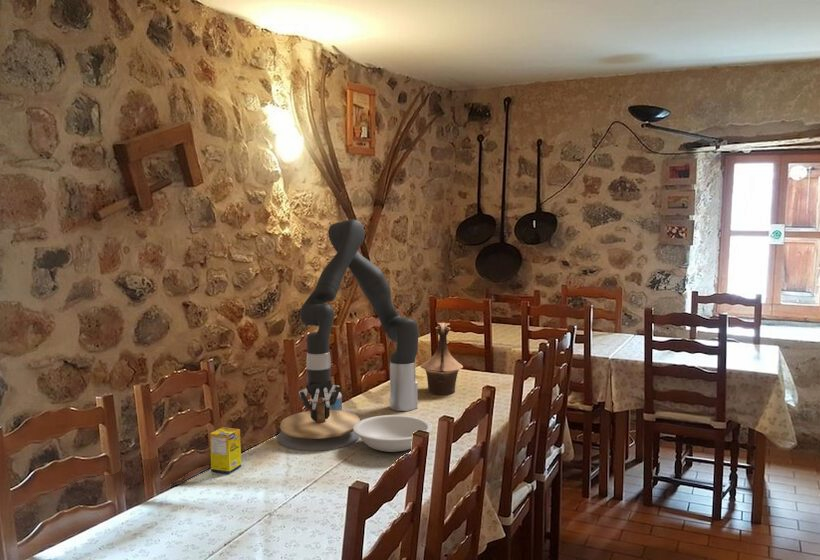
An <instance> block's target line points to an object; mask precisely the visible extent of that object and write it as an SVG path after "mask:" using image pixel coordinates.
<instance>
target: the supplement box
mask: <svg viewBox="0 0 820 560" xmlns="http://www.w3.org/2000/svg"><path fill="white" fill-rule="evenodd" d="M209 444H210V445H209V446H210V447H209V449H210V470H211V471H210V472H212V471H213V473H221V474H227V475H230V474H231V473H234V472H235V471H237V470H238V469H240V468H242V452H241V450H242V448H241V428H240V429H239V428H232V427H231V428H230V427H226V426H225V427H224V426H223V427H220V428H217V429H216V430H214V431H212V432H210V433H209Z"/></svg>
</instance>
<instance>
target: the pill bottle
mask: <svg viewBox="0 0 820 560" xmlns="http://www.w3.org/2000/svg"><path fill="white" fill-rule="evenodd" d="M336 385H337V384H336ZM337 386H339V387H340V385H337ZM340 388H341V387H340ZM331 394H332V388H331V390H330V392H329V393H328V397H329V399H330V397H331ZM342 400H343V395H342V393H341V392H340V391H339V394H338V397H337V399H336V402H335V404H334V405H331V406H330V410H340V411H343V401H342Z"/></svg>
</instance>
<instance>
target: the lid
mask: <svg viewBox="0 0 820 560" xmlns="http://www.w3.org/2000/svg"><path fill="white" fill-rule="evenodd" d="M316 410H317V421H314V420H313V419H311V412H310V410H307V411H301V412H297V413H294V414H291V415H289V416H287V417H285V418H283V419H282V420H281V421H280V425H279V426H280V428H279V429H280V432H281V431H282V432H283V433H285V434H286V435H289V436H292V437H297V438H306V439H321V438H331V437H337V436H341V435H345V434H348V433H350V432H352V431H353V426H354V425H355V424H356V423H357V422H359V421H361V419H360V417H359V416H358V415H357V414H355V413H353V412H349V411H345V410H342V411H340V410H330V416H329V417H328V419H325V402H323V401H317V404H316Z"/></svg>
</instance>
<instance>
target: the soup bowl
mask: <svg viewBox="0 0 820 560" xmlns="http://www.w3.org/2000/svg"><path fill="white" fill-rule="evenodd" d="M417 430H425V431H427V432H429V434H431V432H433V431H432V430H433V425H432V423H430V421H427V420H426V419H423V418H420V417H416V416H411V415H404V414H403V415H402V414H389V415H388V414H385V415H376V416H371V417H366V418H364V419H362V420H361V419H360V421H359V422H357V423H356V424H355V425H354V426H353V431H354V433H356V434H357V435H359V436H360V437H359V439H361V440H362V441H363V443H364V444H366V445H367V446H368V447H369V448H372V449H373V450H377V451H381V452H387V453H388V452H389V453H396V452H397V453H398V452H403V451H407V450H411V449H412V448H411V441H412V434H413V432H415V431H417Z"/></svg>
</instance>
